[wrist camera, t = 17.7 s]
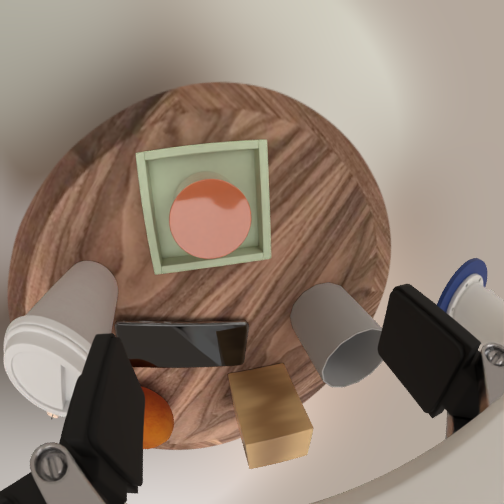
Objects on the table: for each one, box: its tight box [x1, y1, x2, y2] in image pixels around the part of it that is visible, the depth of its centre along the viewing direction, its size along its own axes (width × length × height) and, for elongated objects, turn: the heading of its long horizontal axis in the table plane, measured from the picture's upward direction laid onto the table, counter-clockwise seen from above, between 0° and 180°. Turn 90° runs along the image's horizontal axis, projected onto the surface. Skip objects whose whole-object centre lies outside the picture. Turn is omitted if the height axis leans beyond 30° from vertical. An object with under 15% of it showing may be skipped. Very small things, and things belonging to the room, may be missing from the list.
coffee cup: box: [4, 261, 118, 417], centre depth 21 cm, size 10×10×15 cm
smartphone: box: [115, 320, 249, 368], centre depth 32 cm, size 7×1×16 cm
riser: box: [228, 363, 313, 469], centre depth 33 cm, size 8×8×12 cm
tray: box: [136, 140, 271, 275], centre depth 26 cm, size 12×12×3 cm
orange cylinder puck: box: [169, 171, 252, 259], centre depth 24 cm, size 6×6×6 cm
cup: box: [290, 282, 383, 387], centre depth 31 cm, size 8×8×10 cm
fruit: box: [141, 387, 174, 449], centre depth 32 cm, size 11×10×8 cm
